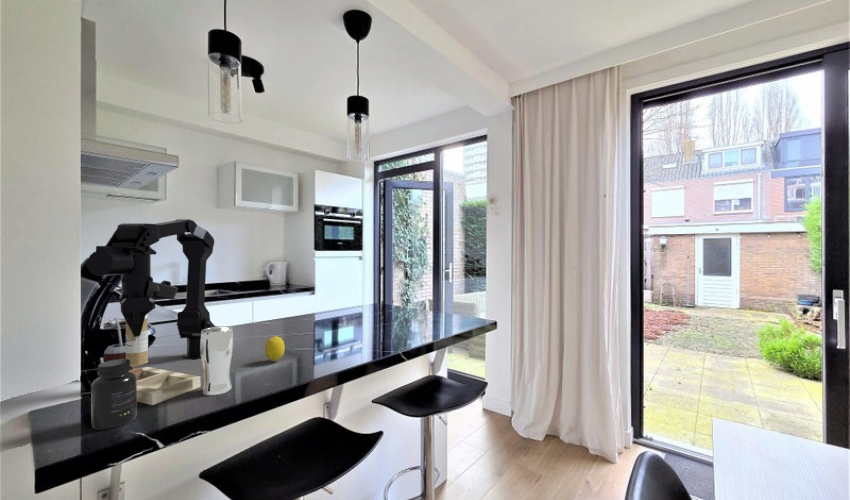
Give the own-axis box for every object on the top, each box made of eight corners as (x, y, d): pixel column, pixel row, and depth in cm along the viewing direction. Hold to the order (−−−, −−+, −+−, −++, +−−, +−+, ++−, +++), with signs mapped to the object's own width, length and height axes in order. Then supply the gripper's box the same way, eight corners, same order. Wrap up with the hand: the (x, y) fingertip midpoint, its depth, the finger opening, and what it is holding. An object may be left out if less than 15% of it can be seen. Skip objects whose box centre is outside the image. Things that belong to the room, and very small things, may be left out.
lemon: (288, 359, 109) (287, 333, 109) (278, 365, 103) (278, 338, 103) (271, 358, 109) (271, 333, 109) (261, 364, 104) (261, 337, 104)
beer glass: (209, 399, 80) (209, 334, 80) (194, 392, 84) (194, 330, 84) (239, 388, 86) (239, 328, 86) (224, 382, 90) (223, 324, 89)
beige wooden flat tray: (96, 391, 84) (96, 380, 84) (146, 375, 95) (146, 365, 95) (152, 405, 77) (152, 392, 77) (200, 386, 87) (200, 375, 87)
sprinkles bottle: (121, 366, 86) (120, 312, 86) (142, 360, 91) (141, 309, 91) (131, 368, 85) (131, 313, 85) (152, 362, 89) (152, 310, 89)
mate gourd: (124, 378, 93) (123, 322, 93) (92, 379, 92) (92, 323, 92) (144, 368, 100) (144, 317, 100) (115, 369, 100) (115, 317, 100)
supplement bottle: (83, 427, 68) (82, 365, 67) (124, 411, 74) (123, 355, 74) (104, 433, 65) (103, 370, 65) (144, 417, 71) (144, 359, 71)
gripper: (180, 273, 86) (180, 336, 86) (170, 269, 100) (171, 324, 100) (120, 275, 78) (121, 344, 79) (119, 271, 92) (119, 330, 92)
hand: (136, 334), depth 88 cm, fingers closed on sprinkles bottle, 4 cm apart
